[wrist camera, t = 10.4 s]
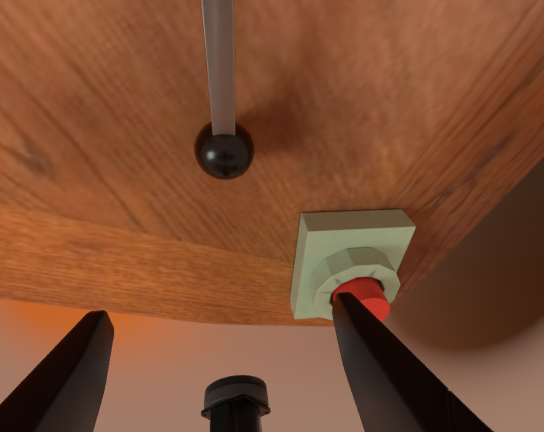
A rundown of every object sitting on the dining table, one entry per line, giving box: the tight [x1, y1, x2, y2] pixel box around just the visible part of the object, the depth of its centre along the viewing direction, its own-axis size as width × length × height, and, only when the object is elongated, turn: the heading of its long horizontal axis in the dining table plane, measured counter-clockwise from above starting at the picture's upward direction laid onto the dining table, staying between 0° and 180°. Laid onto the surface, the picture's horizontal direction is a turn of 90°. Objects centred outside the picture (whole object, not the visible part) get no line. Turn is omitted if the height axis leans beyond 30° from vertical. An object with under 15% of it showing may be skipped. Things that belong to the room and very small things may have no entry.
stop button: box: [332, 276, 390, 321], centre depth 22 cm, size 4×4×2 cm
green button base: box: [290, 209, 416, 321], centre depth 24 cm, size 10×8×4 cm
